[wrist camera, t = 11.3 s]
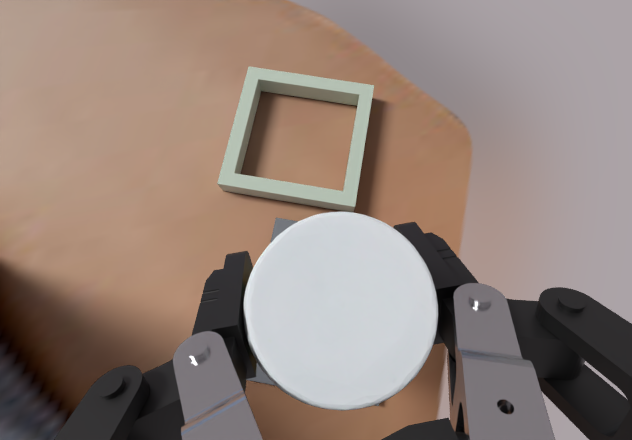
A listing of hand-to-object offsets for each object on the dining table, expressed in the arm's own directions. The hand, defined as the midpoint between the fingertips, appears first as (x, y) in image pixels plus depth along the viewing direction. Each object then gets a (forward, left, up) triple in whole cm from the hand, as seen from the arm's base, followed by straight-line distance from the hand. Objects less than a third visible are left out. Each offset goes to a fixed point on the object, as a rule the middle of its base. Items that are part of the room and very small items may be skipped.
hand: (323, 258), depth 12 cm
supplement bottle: (-2, -1, -4) cm, 5 cm away
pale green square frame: (+10, +3, -12) cm, 16 cm away
